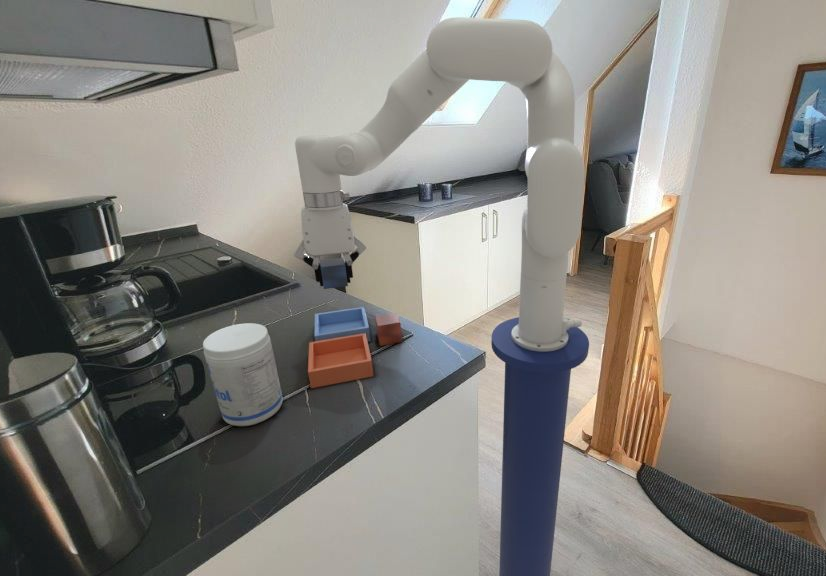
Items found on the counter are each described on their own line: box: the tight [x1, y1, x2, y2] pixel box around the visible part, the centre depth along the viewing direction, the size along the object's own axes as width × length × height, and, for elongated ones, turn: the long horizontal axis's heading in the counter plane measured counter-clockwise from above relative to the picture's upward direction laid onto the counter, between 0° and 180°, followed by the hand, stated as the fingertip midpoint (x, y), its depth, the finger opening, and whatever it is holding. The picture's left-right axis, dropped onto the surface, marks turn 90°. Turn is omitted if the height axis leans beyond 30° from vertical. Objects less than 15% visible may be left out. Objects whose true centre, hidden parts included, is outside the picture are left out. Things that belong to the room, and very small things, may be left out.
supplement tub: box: [202, 322, 284, 427], centre depth 67 cm, size 10×10×15 cm
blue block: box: [319, 257, 349, 290], centre depth 88 cm, size 5×5×5 cm
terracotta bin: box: [307, 333, 374, 389], centre depth 82 cm, size 12×12×4 cm
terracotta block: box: [374, 312, 403, 346], centre depth 92 cm, size 5×5×5 cm
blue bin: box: [313, 306, 371, 343], centre depth 94 cm, size 12×12×4 cm
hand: (335, 281), depth 89 cm, fingers closed on blue block, 5 cm apart
